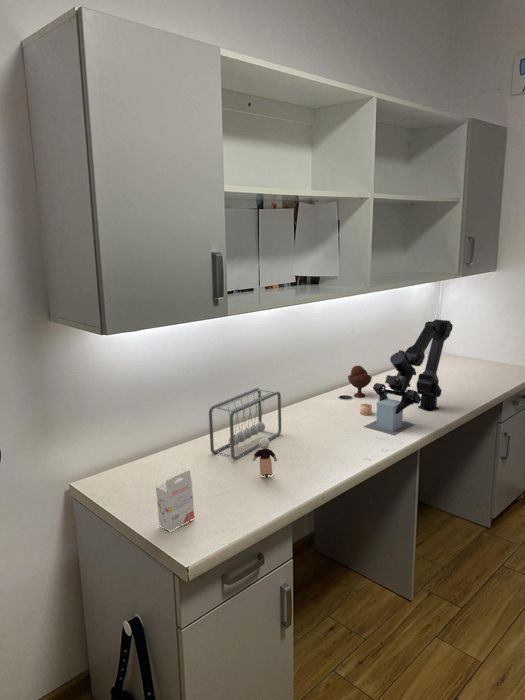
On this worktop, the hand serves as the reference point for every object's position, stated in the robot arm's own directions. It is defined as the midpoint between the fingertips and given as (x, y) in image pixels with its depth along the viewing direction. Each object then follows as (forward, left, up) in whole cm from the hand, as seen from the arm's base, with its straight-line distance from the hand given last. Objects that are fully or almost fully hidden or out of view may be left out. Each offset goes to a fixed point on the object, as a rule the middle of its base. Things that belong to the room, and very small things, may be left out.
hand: (387, 411), depth 203 cm
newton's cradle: (+54, -15, -7) cm, 56 cm away
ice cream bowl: (-17, -39, -7) cm, 44 cm away
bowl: (-3, -17, -7) cm, 19 cm away
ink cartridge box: (+95, +25, -7) cm, 98 cm away
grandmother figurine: (+61, +12, -7) cm, 62 cm away
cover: (-1, 0, -7) cm, 7 cm away
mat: (-2, -1, -7) cm, 8 cm away
